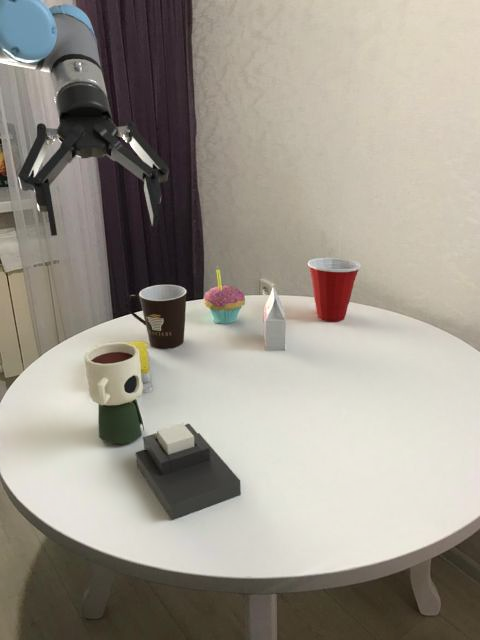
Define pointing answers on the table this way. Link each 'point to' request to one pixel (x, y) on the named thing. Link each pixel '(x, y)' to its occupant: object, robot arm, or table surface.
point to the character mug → (116, 390)
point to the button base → (186, 476)
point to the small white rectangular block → (175, 438)
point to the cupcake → (224, 302)
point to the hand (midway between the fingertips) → (105, 226)
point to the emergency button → (144, 365)
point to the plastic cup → (332, 286)
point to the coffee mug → (162, 314)
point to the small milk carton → (274, 323)
